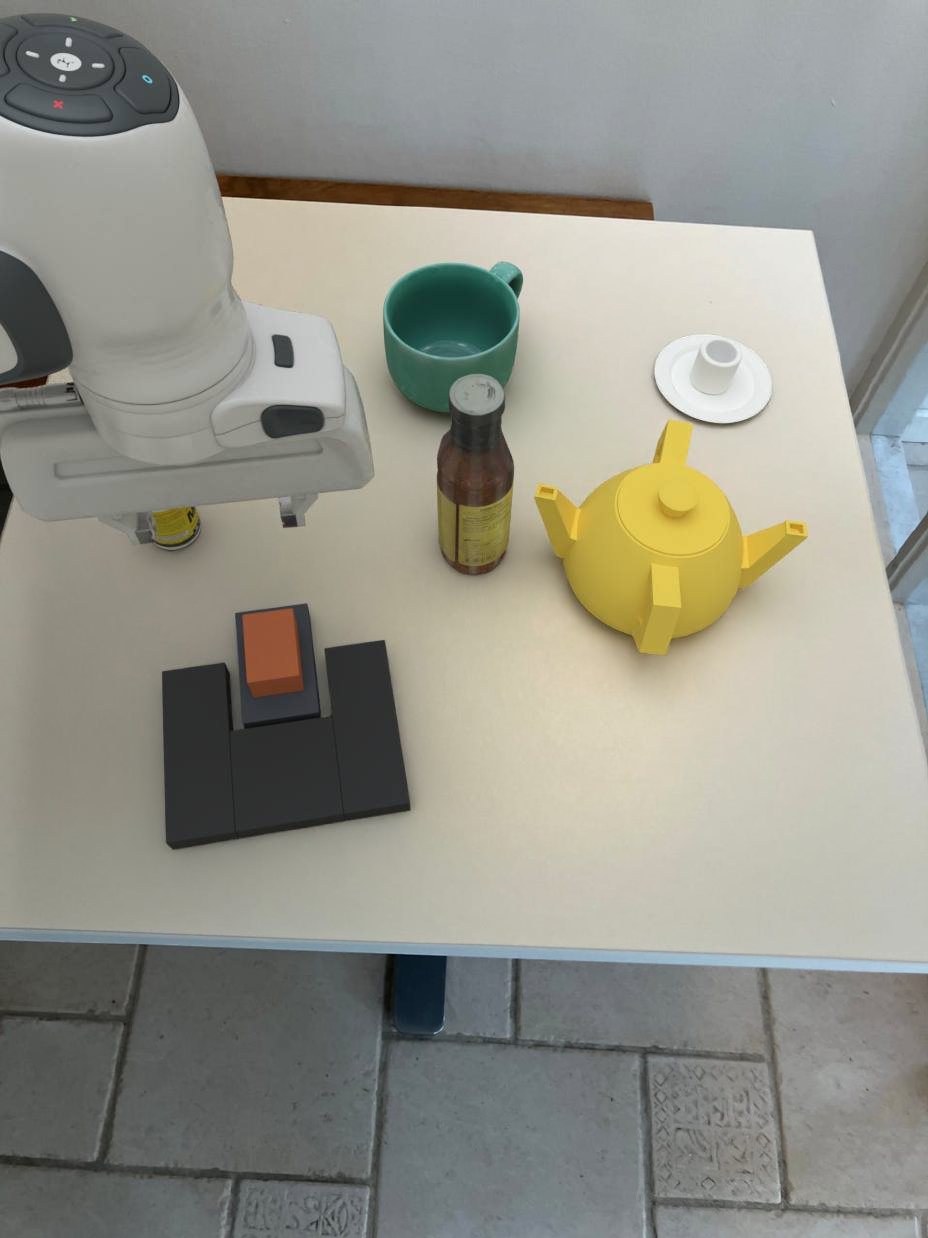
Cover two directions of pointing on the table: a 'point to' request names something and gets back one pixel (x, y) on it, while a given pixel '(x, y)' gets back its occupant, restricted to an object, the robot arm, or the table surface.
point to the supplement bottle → (176, 527)
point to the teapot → (659, 546)
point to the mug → (451, 328)
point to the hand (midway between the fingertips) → (220, 526)
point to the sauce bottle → (474, 477)
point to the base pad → (280, 755)
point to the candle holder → (713, 378)
